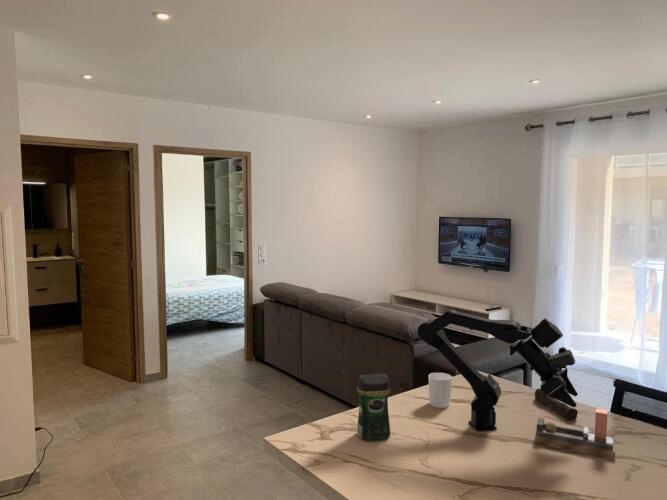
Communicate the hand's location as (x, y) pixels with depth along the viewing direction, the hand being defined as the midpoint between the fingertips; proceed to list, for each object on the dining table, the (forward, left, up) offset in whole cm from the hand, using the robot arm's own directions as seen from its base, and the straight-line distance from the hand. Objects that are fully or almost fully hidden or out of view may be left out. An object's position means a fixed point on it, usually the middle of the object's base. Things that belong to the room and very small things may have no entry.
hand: (576, 400), depth 140 cm
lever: (+5, -4, -11) cm, 12 cm away
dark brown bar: (+9, +24, -13) cm, 29 cm away
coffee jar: (-55, +16, -13) cm, 59 cm away
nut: (-5, +4, -11) cm, 13 cm away
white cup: (-26, +35, -13) cm, 45 cm away
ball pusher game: (0, 0, -13) cm, 13 cm away
